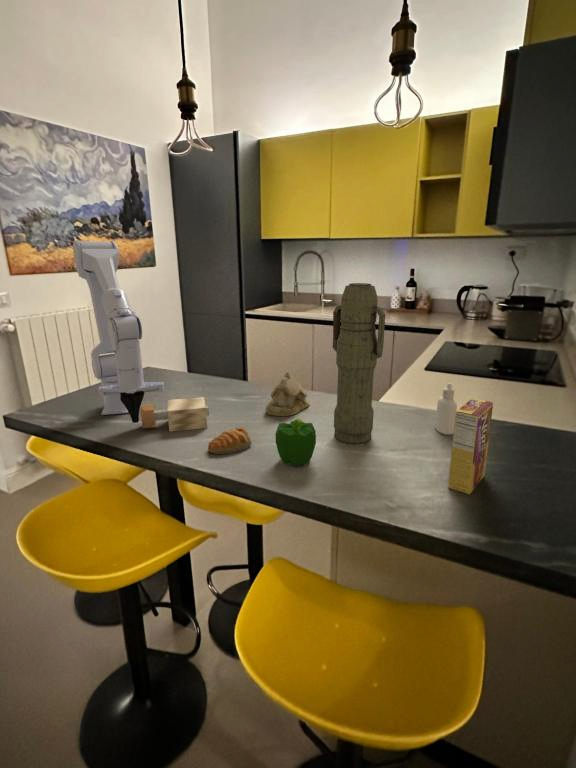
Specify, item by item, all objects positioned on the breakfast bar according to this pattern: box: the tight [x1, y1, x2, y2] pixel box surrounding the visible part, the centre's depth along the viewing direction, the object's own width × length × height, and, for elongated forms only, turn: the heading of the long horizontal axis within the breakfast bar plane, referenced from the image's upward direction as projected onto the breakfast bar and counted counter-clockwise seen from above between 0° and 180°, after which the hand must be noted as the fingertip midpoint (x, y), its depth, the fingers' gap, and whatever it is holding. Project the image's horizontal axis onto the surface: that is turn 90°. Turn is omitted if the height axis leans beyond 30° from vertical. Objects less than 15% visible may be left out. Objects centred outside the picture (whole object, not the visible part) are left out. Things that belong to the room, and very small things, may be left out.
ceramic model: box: [265, 372, 311, 417], centre depth 117 cm, size 14×11×10 cm
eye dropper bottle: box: [434, 382, 458, 436], centre depth 101 cm, size 4×6×12 cm
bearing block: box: [167, 396, 208, 432], centre depth 107 cm, size 9×8×5 cm
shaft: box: [140, 403, 210, 429], centre depth 106 cm, size 16×4×4 cm, turn 104°
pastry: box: [207, 426, 252, 455], centre depth 94 cm, size 9×7×4 cm
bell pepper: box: [275, 417, 317, 467], centre depth 87 cm, size 8×8×10 cm
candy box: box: [447, 398, 494, 495], centre depth 78 cm, size 9×4×15 cm, turn 140°
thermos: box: [332, 282, 386, 446], centre depth 94 cm, size 9×12×35 cm
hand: (135, 421), depth 104 cm, fingers closed
